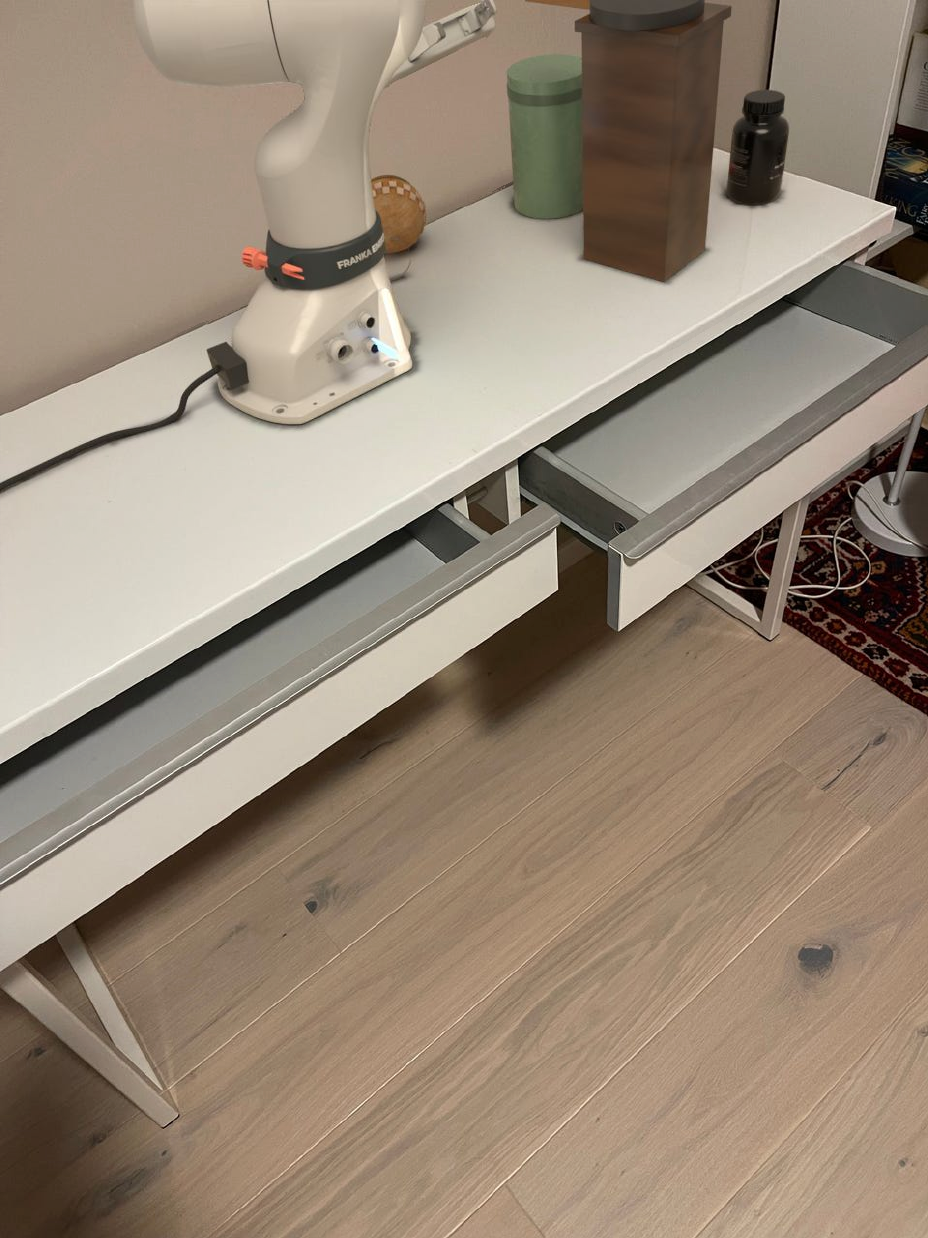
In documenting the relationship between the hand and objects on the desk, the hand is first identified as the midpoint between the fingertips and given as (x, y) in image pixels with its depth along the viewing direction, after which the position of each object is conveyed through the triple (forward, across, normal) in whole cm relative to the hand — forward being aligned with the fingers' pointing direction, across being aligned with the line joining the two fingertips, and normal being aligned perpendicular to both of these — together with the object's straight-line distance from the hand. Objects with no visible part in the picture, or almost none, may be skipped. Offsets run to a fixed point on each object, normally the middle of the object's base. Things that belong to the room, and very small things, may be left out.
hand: (465, 17), depth 117 cm
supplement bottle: (+13, +21, +34) cm, 42 cm away
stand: (+11, 0, +33) cm, 34 cm away
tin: (-6, +7, +23) cm, 25 cm away
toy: (-7, -21, +20) cm, 30 cm away
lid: (+19, 0, +8) cm, 20 cm away
